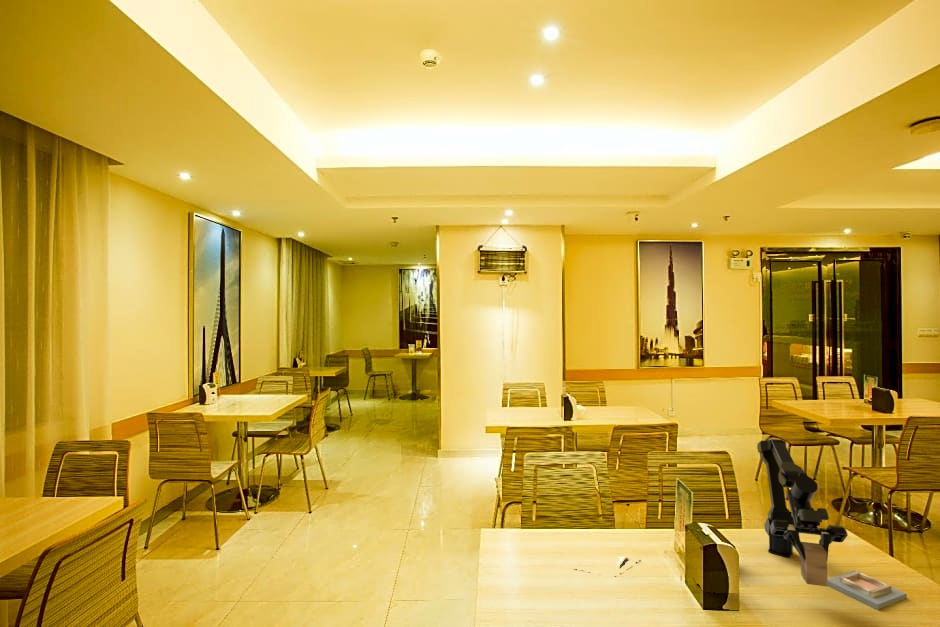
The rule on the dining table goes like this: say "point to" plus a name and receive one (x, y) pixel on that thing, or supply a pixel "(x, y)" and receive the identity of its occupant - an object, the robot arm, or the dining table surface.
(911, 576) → the dining table surface
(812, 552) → the walnut block
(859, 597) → the grey square framed tray
